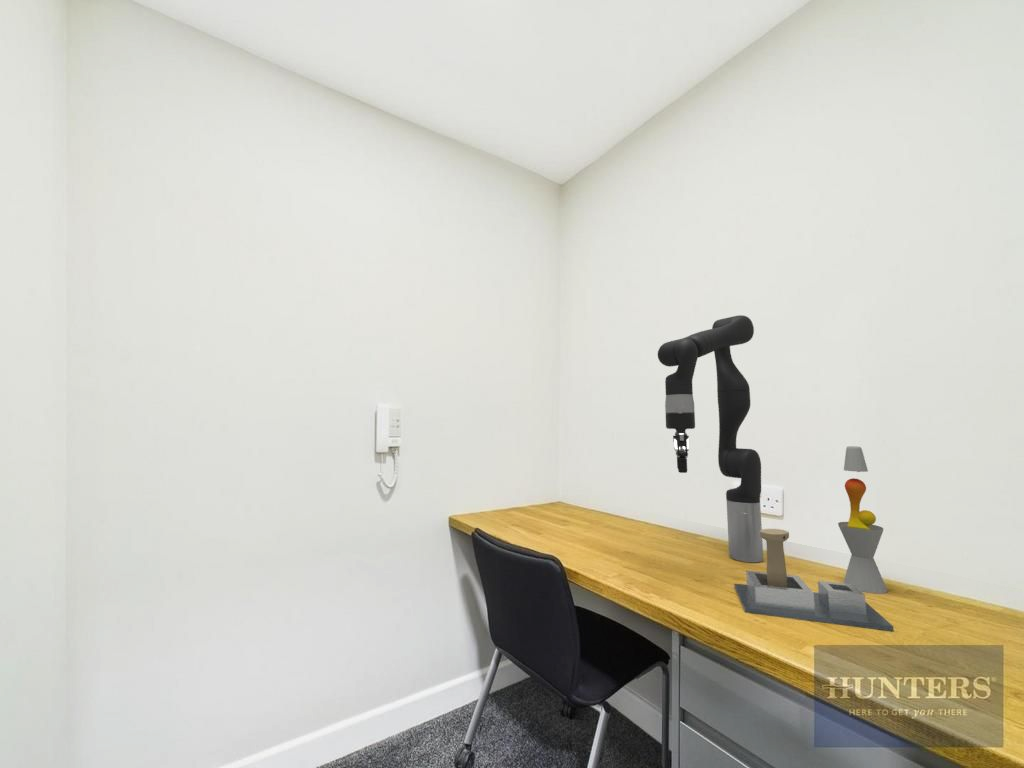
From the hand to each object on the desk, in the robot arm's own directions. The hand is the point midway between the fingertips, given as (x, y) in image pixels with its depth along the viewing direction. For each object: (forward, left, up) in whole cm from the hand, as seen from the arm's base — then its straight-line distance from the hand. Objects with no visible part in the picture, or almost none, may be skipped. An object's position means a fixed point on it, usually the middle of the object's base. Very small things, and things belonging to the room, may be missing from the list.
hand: (682, 470), depth 116 cm
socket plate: (+11, +24, -28) cm, 39 cm away
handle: (+11, +19, -27) cm, 35 cm away
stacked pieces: (-8, +42, -28) cm, 51 cm away
